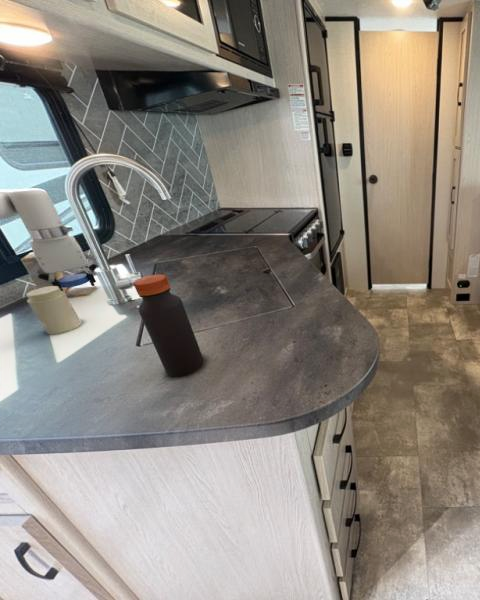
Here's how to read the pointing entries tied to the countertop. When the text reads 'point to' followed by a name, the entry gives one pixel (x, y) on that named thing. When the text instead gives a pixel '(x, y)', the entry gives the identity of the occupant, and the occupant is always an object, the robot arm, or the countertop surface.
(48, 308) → the jam jar
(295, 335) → the countertop surface
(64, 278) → the jam lid
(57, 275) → the supplement box
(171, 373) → the bottle
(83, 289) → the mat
